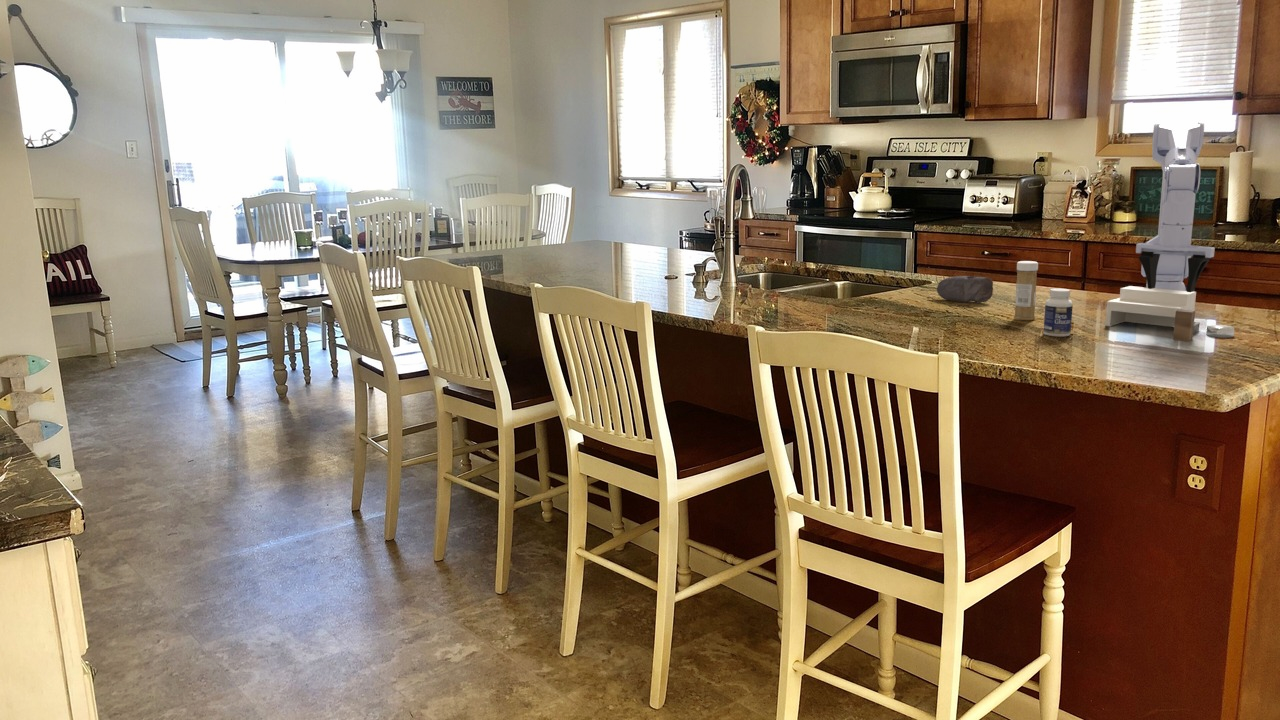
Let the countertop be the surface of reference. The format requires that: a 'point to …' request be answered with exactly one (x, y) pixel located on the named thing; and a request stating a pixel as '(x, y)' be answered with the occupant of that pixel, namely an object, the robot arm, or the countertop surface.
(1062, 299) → the pill bottle
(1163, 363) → the countertop surface
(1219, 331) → the steel puck
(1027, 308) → the sprinkles bottle
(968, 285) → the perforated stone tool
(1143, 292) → the stepped stand
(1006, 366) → the countertop surface
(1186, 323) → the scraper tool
